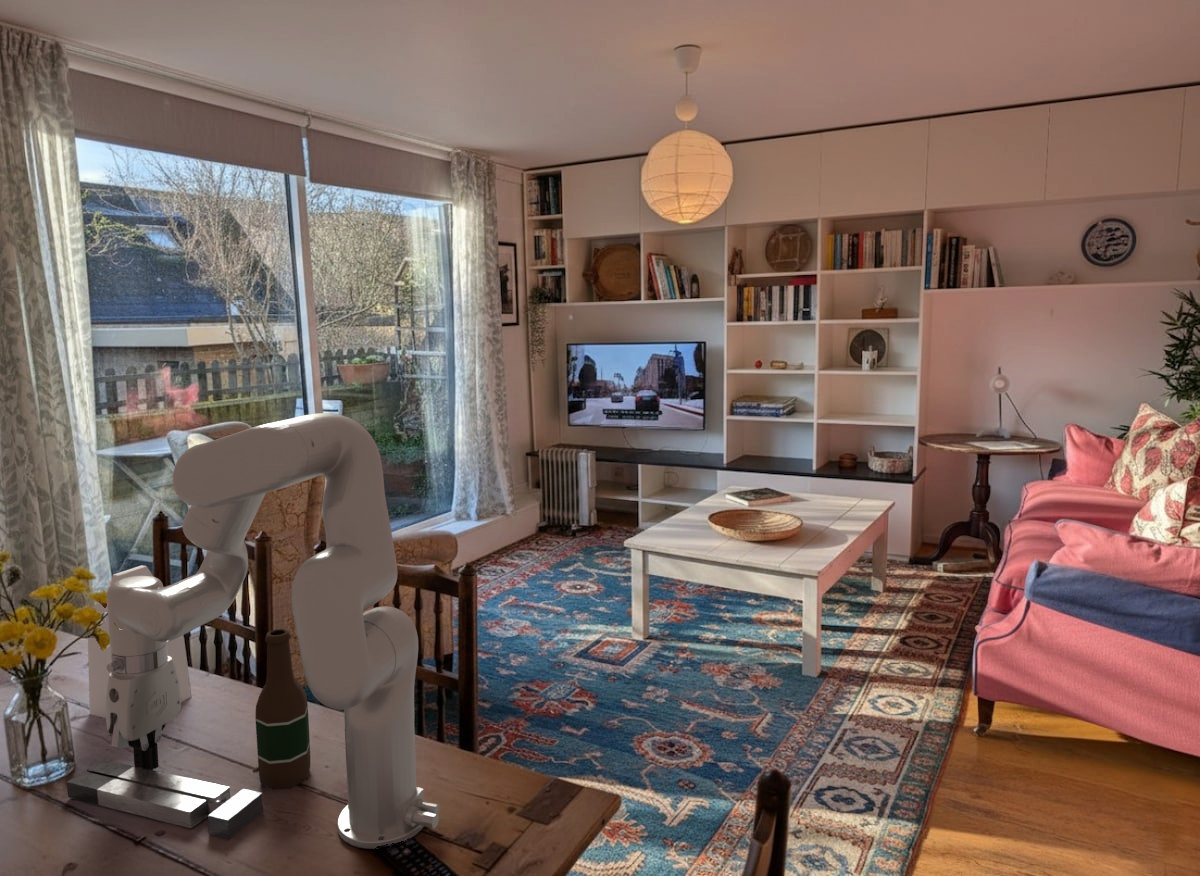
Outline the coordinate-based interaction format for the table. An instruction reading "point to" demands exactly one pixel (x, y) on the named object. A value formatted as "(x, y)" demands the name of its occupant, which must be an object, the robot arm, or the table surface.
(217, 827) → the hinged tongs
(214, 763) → the table surface
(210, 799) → the tongs arm
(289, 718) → the beer bottle
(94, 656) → the milk
